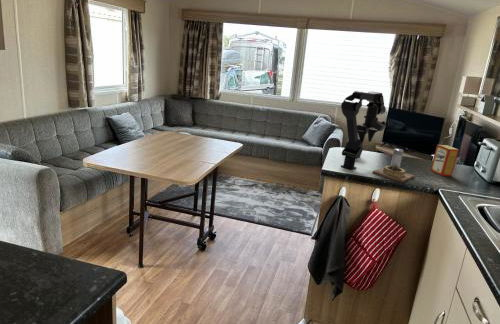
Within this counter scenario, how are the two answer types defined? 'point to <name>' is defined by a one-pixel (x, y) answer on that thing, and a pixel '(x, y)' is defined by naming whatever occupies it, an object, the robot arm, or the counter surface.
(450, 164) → the baking soda box
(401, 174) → the ring board
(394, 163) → the piston
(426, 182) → the counter surface
